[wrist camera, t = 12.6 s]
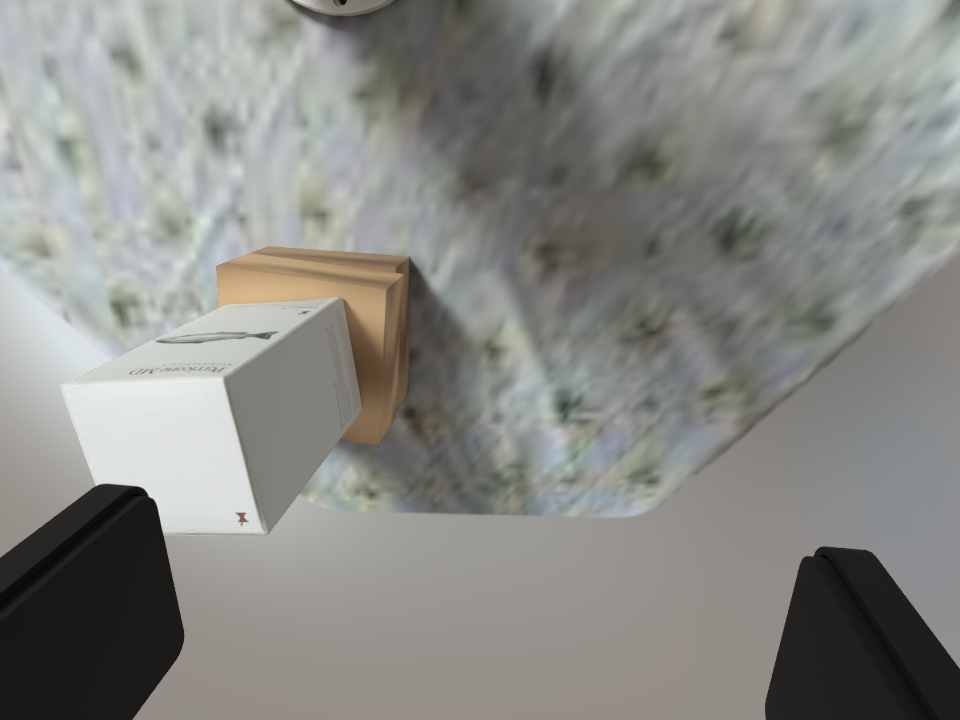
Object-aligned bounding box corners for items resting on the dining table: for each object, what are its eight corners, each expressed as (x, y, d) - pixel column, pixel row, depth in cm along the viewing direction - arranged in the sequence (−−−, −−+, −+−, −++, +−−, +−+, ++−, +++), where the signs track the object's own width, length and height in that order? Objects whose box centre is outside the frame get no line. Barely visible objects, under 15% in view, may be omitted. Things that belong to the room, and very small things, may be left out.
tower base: (270, 245, 42) (242, 256, 38) (410, 255, 41) (395, 267, 37) (280, 377, 45) (255, 398, 41) (409, 389, 44) (395, 413, 40)
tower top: (250, 253, 38) (216, 265, 34) (404, 274, 37) (386, 289, 33) (255, 395, 41) (224, 421, 38) (395, 417, 41) (378, 445, 37)
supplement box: (345, 292, 34) (229, 376, 22) (365, 411, 36) (270, 543, 24) (224, 299, 35) (52, 382, 23) (252, 414, 37) (109, 542, 25)
